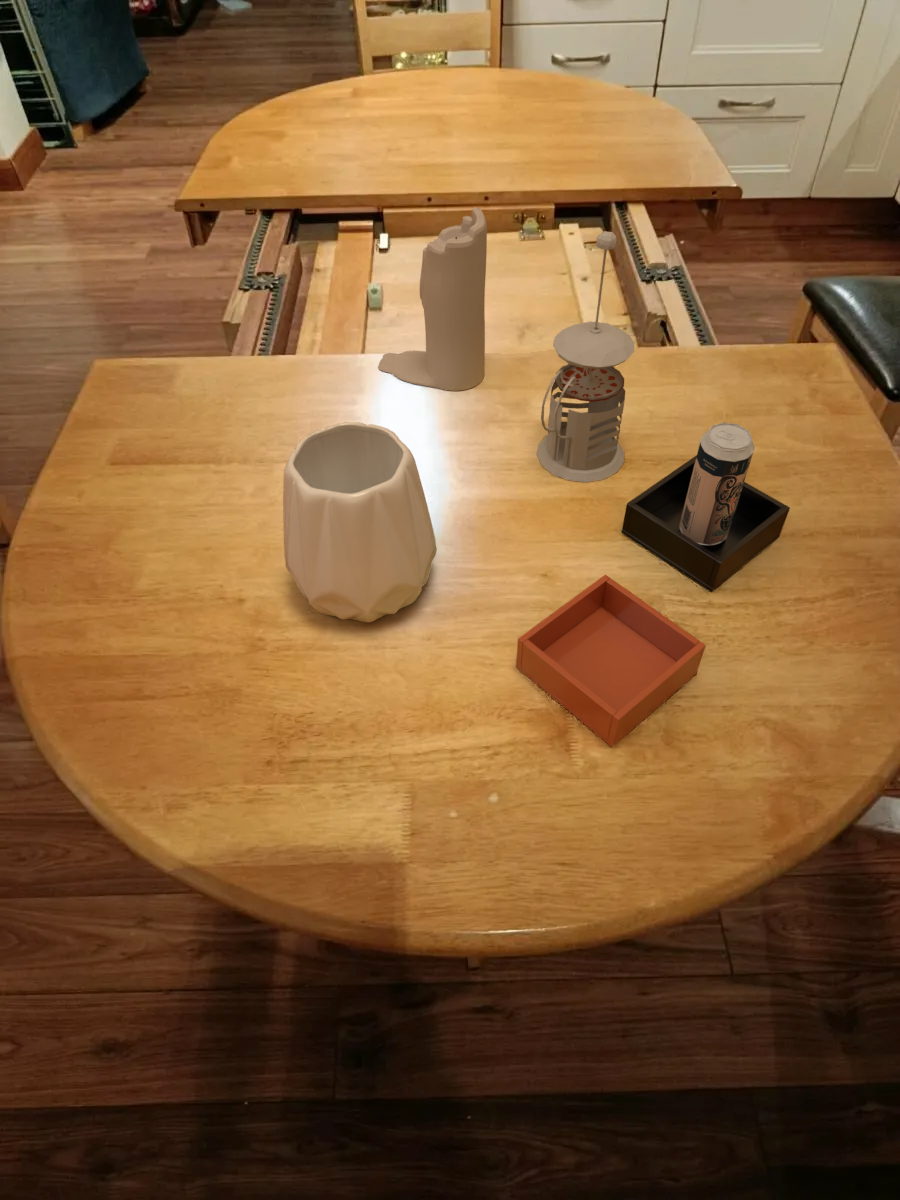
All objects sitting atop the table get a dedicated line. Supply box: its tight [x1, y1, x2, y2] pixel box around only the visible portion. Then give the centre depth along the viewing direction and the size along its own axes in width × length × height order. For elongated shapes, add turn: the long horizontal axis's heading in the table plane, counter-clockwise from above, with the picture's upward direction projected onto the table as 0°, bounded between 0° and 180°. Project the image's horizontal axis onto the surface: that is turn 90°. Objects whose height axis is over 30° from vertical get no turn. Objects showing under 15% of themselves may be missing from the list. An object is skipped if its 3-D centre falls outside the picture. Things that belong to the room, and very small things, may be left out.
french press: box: [536, 230, 635, 483], centre depth 85 cm, size 10×12×25 cm
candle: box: [377, 206, 488, 392], centre depth 99 cm, size 7×14×20 cm, turn 72°
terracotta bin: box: [515, 574, 706, 748], centre depth 73 cm, size 11×11×4 cm
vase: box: [282, 421, 438, 623], centre depth 77 cm, size 14×14×15 cm
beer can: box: [679, 422, 755, 546], centre depth 81 cm, size 5×5×12 cm
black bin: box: [621, 454, 791, 593], centre depth 84 cm, size 11×11×4 cm
